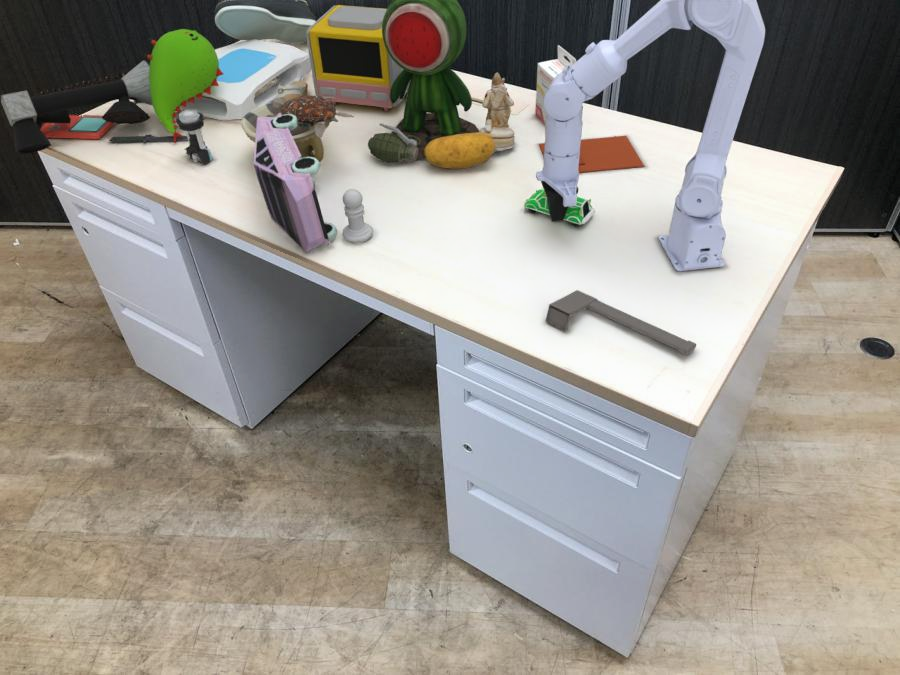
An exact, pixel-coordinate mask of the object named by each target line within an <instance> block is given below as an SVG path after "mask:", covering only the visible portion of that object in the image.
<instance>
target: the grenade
mask: <svg viewBox="0 0 900 675" xmlns="http://www.w3.org/2000/svg"><path fill="white" fill-rule="evenodd" d="M378 125H379V126H380V127H383V128H385V129H388V130H389V131H391V132H379V133H375V134H374V135H373V136H372V137H370V139H368V142H367V147H368V150H369V153H370V155H372V156H373V157H374V158H376V159H377V160H379V161H380V162H383V163H389V164H397V163H401V162H402V161H403V160H405V159H406V160H408V161H411V162H416V161H417V160H416V159H417V156H418V148H417V145H418V144H420V143H421V140H420V139H419V138H418V137H416V136H414V135H408V136H407V137H406V136H405V135H404V134H403V133H402V132H401V131H400V130H399V129H398V128H396V126H391V125H388V124H384V123H381V122H380V123H379V124H378ZM392 131H394V132H396V133H397V134H398V136H397V135H394V134H391V133H392ZM409 136H413V137H416V138H418V139H419V141H420V143H417V142H416V141H415V140H413V139H408V137H409ZM406 143H407V144H408V145H407V144H406Z"/></svg>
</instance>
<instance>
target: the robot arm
mask: <svg viewBox="0 0 900 675" xmlns="http://www.w3.org/2000/svg"><path fill="white" fill-rule="evenodd" d="M693 25H695V26H696V27H697V28H699V29H700V30H702V31H703V32H705V33H707V34H708V35H710V36H712V37H714V38H715V39H717V41H718V42H719V43H720V44H721V45H722V47H723V48H724V49H725V52H724V55H723V56H724V57H723V59H722V63H721V67H720V70H719V73H718V76H717V79H716V80H717V81H716V84H715V88H714V90H713V95H712V98H711V101H710V105H709V107H708V108H709V109H708V112H707V115H706V119H705V122H704V126H703V129H702V133H701V136H700V140H699V143H698V146H697V148H696V152H695V154H694V155H693V156H692V157H691V158H690V159H689V160H688V161H687V163H686V165H685V169H684V177H683V181H682V185H681V188H680V190H679V192H678V194H677V195H676V197H675V200H674V205H673V211H672V215H671V220H670V226H669V232H668V234H662V235H661V234H660V235H658V238H657V239H658V241H659V243H660V245H661V247H662V248H663V250H664V252H665V254H666V255H667V257H668V259H669V261H670V262H671V264H672V267H673V268H674V270H675V271H676V272H684V271H692V270H693V271H694V270H703V269H712V268H722V267H724V266H725V263H724V262H725V261H723V259H722V258H721V257H722V253H723V249H724V246H725V242H726V236H727V233H726V230H725V228H724V226H723V222H722V210H723V209H722V208H723V206H724V204H723V200H722V194H723V188H724V183H725V180H726V177H727V171H728V170H727V165H726V164H727V159H728V157H729V153H730V150H731V147H732V144H733V142H734V137H735V134H736V131H737V128H738V125H739V122H740V119H741V115H742V112H743V109H744V106H745V103H746V100H747V96H748V93H749V91H750V87H751V84H752V81H753V78H754V75H755V71H756V69H757V66H758V64H759V63H758V62H759V59H760V57H761V52H762V50H763V47H764V43H765V37H766V27H765V23H764V20H763V17H762V14H761V11H760V8H759V4H758V2H757V0H659V1H658V2H656V4H654V5H653V6H652V7H651V8H650V9H649V10H648V11H647V12H646V13H644V14H643V15H642V16H641V17H640V18H639V19H638V20H637V21H635V23H633V24H632V25H631V26H630V27H628V29H627V30H626V31H624V32H623V33H622V34H620V36H619V37H618V38H617V39H615V40H614V39H613V40H612V39H602V40H600V41H599V42H597V44H596V43H595V42H594V41H592V42H591V43H590V44H589V45H588V46H587V47H586V49H585V50H584V51H585V54H584V55H582V56H581V57H580V58H579V59H578V60H576V62H575V63H574V64H573V65H572V66H571V67H570V66H569V65H567V66H566V67H565V68H564V69H563V70H562V72H561V73H559V74H558V75H557V76H556V77H555V78H554V80H553V82H552V83H551V85H550V87H549V88H548V90H547V92H546V94H545V97H544V108H545V110H546V112H547V121H546V125H545V133H544V134H545V135H544V143H545V148H544V155H543V166H542V170H539V171H536V172H535V178H536V180H537V181H538V182H540V184H541V187H542V189H543V190H544V191H545V193H546V196H547V201H548V207H549V213H550V215H549V218H550V220H551V222H561V221H565V220H564V218H565V215H566V212H567V210H568V207H569V206H576V203H577V197H578V194H579V187H578V184H579V180H580V173H579V171H578V168H579V157H580V146H581V140H582V136H583V135H582V133H583V113H584V112H583V111H584V106H583V104H584V103H585V102H587V101H589V100H592V99H594V98H595V97H596V96H597V95H599V94H600V93H601V92H603V91H604V90H605V89H606V88H608V87H609V86H610V85H612V84H614V82H615V81H616V80H618V79H619V78H621V77H622V76H623V75H624V74H625V73H626V72H627V68H628V61H629V59H631V58H632V57H634V56H635V55H636V54H638V53H639V52H640V51H642V50H643V49H645V48H646V47H647V46H649V45H651V43H653V42H654V41H656V40H657V39H658V38H660V37H661V36H662V35H664V34H665V33H667V32H668V31H669V30H670V29H678V30H685V31H690V30H692V27H693Z"/></svg>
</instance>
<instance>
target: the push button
mask: <svg viewBox="0 0 900 675" xmlns="http://www.w3.org/2000/svg"><path fill="white" fill-rule="evenodd" d="M177 116H178V117H175V121H176V122H175V124H176V126H178V128H179V130H180V131H182V132H185V133H186V136H187V137H188V146H187V147H185V148H183V150H184V151H186V152H185V153H184V154H185V155H187V156H188V157H189V158H190V160H192V161H193V162H194V163H201V164H202V165H203V166H205V165H207V164H208V163H210V162H212V161H213V157H212V153H211V149H210V148H208V146H207V145H206V141H205V140H204V137H203V133H202V128H203V127H204V126H205V121H204V120H205V117H204V116H203V114H201V113H198V111H196V110H192V109H190V110H185V111H182V110H181V112H179V113H178V115H177Z"/></svg>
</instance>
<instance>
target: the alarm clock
mask: <svg viewBox="0 0 900 675" xmlns="http://www.w3.org/2000/svg"><path fill="white" fill-rule="evenodd" d="M386 11H387V8H382V7H381V8H380V7H368V6H356V5H343V4H335V5H333V6H331V7H330V8H329V9H328V10H327V11H326V12H325V13H324V14H323V15H322V16H320V17H319V18H317V21H316V22H315V23H314V24H313V25H312V26H311V27H309V28H308V29H307V31H306V38H307V42H306V44H307V51H308V54H309V57H310V63H311V76H312V81H313V88H314V93H315V94H314V95H315V96H316V97H319V96H322V97H326V96H331V97H336V98H332V99H326V101H327V102H331V105H333V106H336V105H337V103H343V104H351V105H361V106H370V107H377V108H378V107H379V108H383V110H384V111H386V112H387V111H389V109H392V108H395V107H397V106H398V105H399V104H400V103H401V101H402V100H401V99H400V96H399V98H398V99H397V101H396V102H395V103H392V102H391V100H390V90H391V87H392V85H393V83H394V81H395V80H396V78H397V77H398V75H399V74H400V73H401V72H402V71H403V70H404V69H403V68H401V67H400V66H399V65H398V64H397V63H396V62H395V61H394V60H393V59H392V58H391V56H390V55H389V53H388V51H387V49H386V47H385V44H384V41H383V35H382V23H383V18H384V15H385V13H386ZM409 84H410V82H409ZM409 84H408V86H407V88H406V91H405V94H404V97H405V95H407V93H408V88H409Z"/></svg>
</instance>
